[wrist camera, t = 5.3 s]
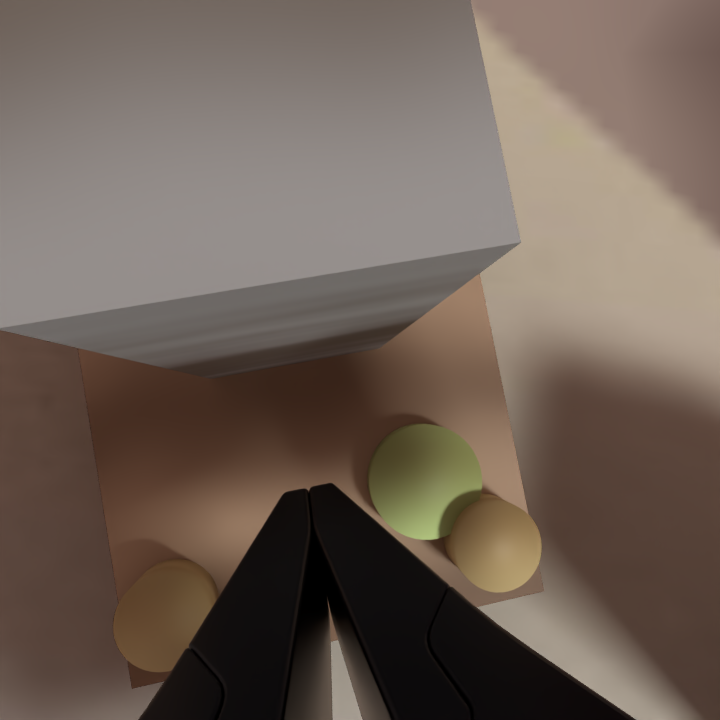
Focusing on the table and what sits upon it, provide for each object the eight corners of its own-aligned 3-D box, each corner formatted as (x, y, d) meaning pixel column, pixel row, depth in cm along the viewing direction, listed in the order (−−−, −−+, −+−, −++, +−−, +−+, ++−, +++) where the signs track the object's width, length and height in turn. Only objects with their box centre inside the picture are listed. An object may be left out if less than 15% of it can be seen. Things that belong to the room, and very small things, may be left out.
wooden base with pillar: (518, 570, 18) (1022, 975, 5) (152, 655, 17) (-339, 1453, 4) (443, 195, 19) (727, -242, 6) (87, 249, 18) (-502, -155, 5)
